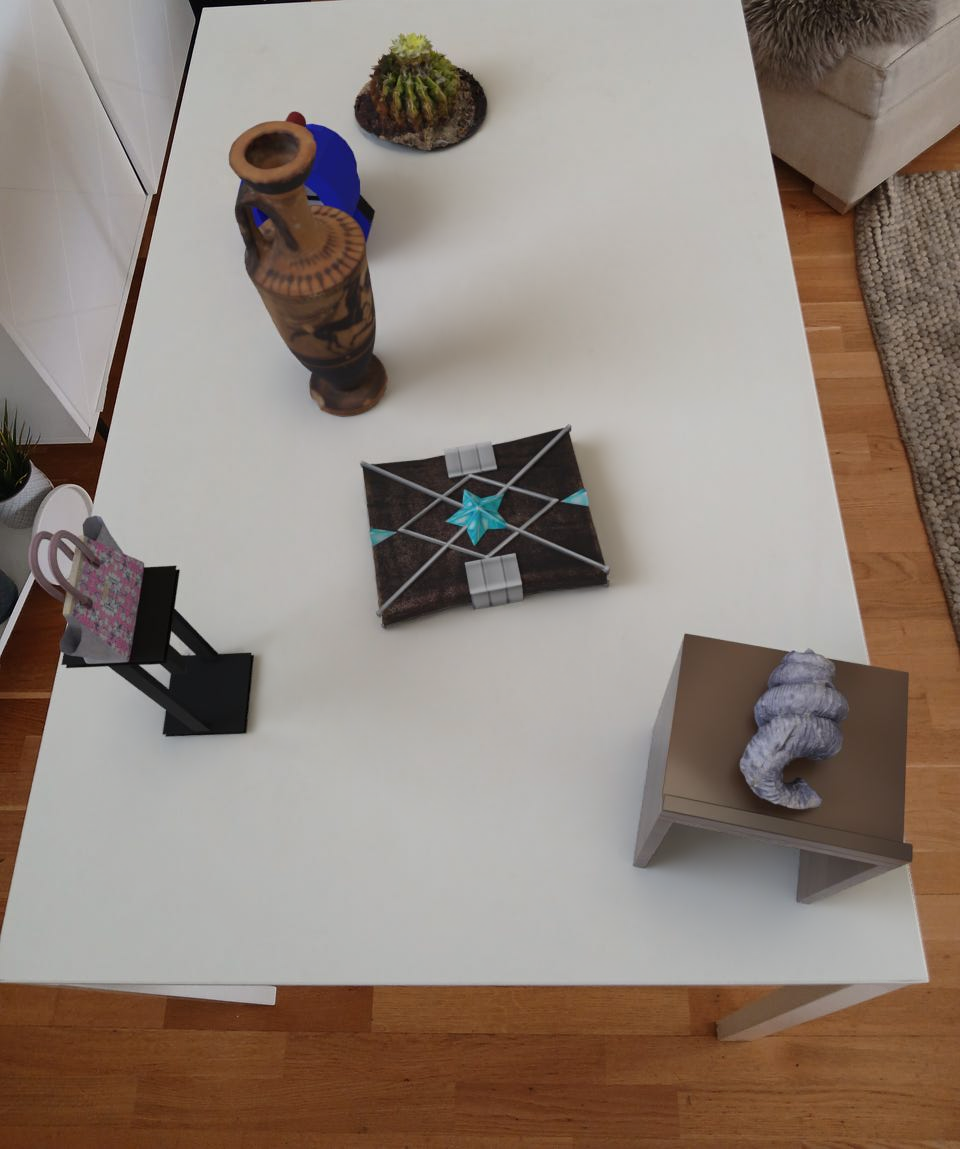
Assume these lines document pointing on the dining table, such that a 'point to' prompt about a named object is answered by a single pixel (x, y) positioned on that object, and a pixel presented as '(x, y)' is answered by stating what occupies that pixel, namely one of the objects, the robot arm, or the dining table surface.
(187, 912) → the dining table surface
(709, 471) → the dining table surface
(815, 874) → the shelf
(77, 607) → the handbag
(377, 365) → the vase
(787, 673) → the seashell
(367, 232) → the alarm clock
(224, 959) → the dining table surface
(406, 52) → the cactus
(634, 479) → the dining table surface
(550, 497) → the book
